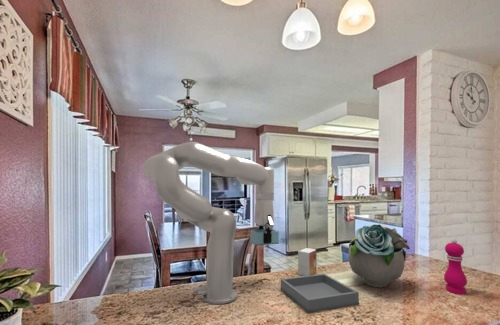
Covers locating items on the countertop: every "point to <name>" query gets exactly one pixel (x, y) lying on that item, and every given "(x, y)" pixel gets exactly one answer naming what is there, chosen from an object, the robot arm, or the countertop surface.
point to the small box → (307, 262)
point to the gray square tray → (319, 292)
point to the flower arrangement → (377, 255)
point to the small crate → (258, 237)
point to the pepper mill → (455, 269)
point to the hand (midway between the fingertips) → (264, 240)
